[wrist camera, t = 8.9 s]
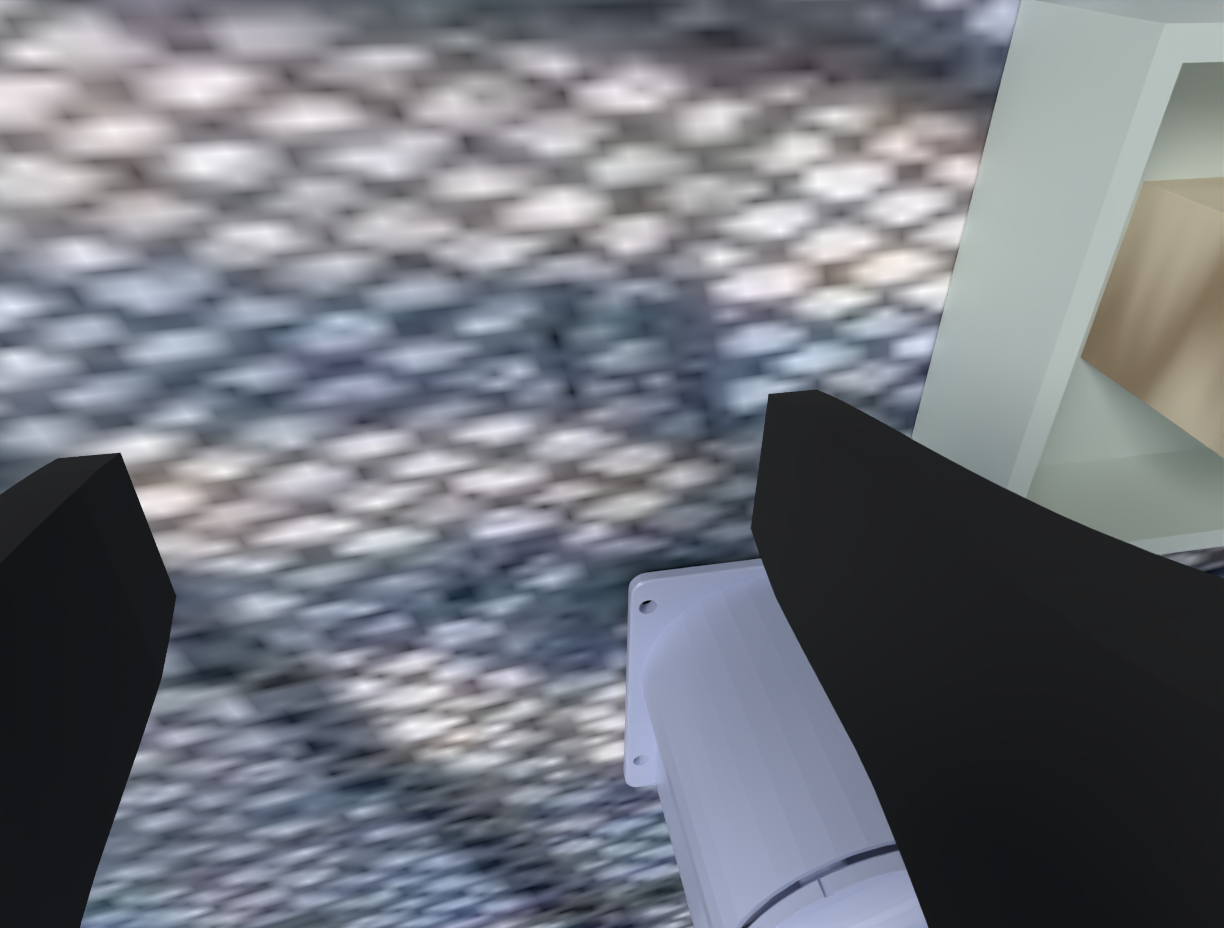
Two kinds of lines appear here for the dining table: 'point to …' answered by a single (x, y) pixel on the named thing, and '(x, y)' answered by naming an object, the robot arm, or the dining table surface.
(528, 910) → the dining table surface
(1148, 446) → the bin
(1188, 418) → the birch block
